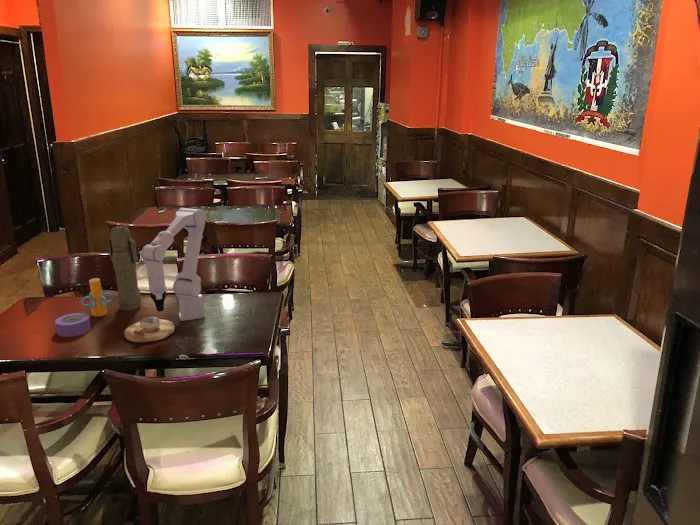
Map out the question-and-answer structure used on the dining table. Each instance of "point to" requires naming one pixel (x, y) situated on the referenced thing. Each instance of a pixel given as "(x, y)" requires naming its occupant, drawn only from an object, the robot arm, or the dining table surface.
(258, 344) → the dining table surface
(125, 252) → the thermos
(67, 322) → the tape roll
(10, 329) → the dining table surface
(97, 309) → the cylinder
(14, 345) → the dining table surface
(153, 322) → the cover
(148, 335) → the disc
